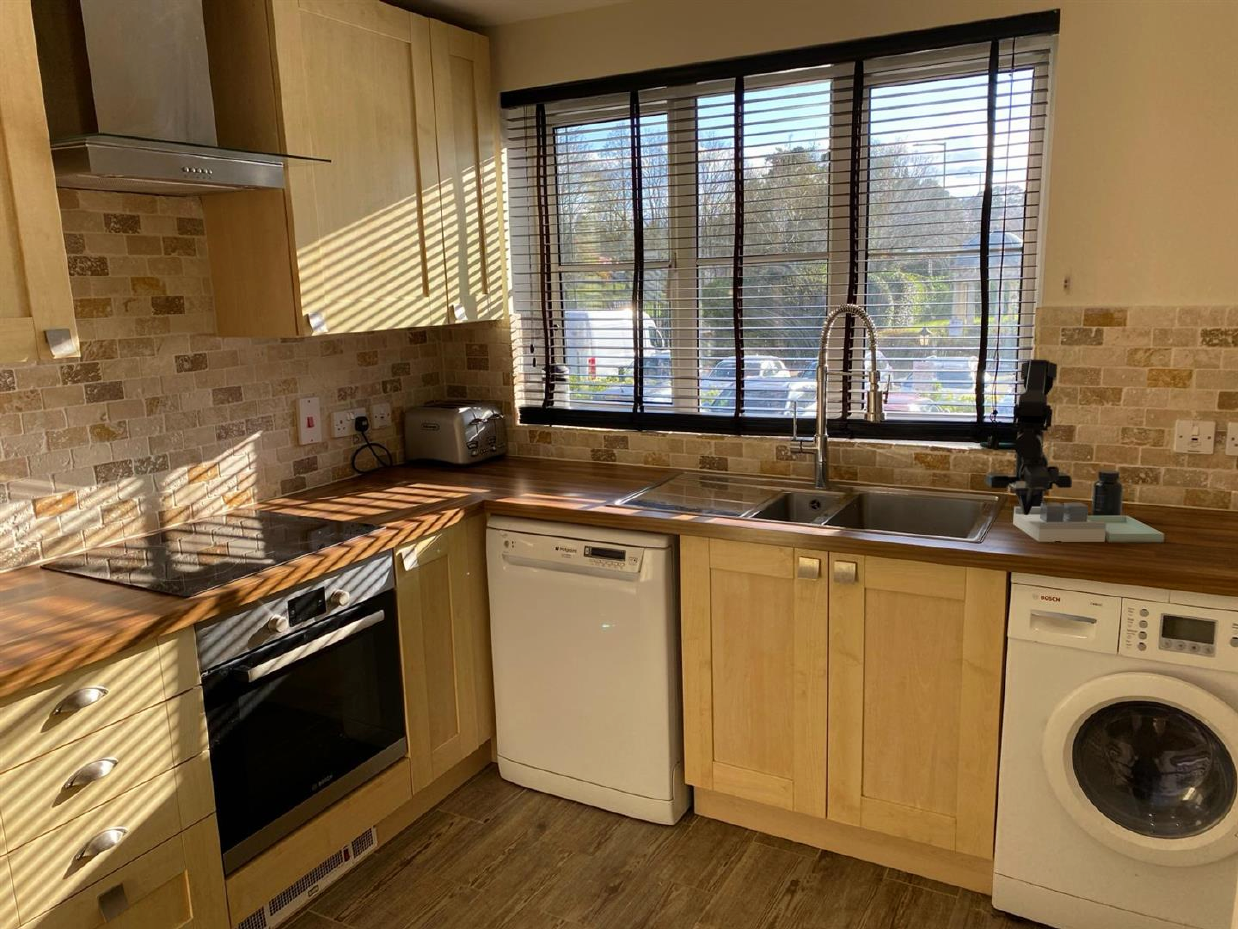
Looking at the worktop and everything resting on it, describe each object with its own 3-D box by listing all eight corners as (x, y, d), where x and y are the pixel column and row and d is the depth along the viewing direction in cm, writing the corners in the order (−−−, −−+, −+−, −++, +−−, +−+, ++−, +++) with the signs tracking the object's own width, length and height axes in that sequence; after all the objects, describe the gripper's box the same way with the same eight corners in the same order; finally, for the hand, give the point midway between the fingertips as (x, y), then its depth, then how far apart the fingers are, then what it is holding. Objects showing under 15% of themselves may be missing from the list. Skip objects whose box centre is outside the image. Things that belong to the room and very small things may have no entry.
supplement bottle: (1104, 512, 241) (1108, 468, 239) (1127, 518, 235) (1130, 472, 233) (1085, 515, 239) (1088, 470, 237) (1107, 521, 232) (1110, 474, 230)
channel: (1013, 524, 231) (1014, 506, 231) (1074, 523, 230) (1075, 506, 229) (1038, 541, 215) (1039, 523, 214) (1104, 541, 214) (1106, 523, 213)
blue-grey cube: (1039, 518, 224) (1040, 502, 223) (1056, 518, 224) (1057, 502, 223) (1046, 522, 220) (1047, 506, 219) (1063, 522, 220) (1064, 506, 219)
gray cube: (1063, 518, 224) (1064, 502, 223) (1079, 518, 223) (1081, 502, 223) (1069, 522, 220) (1070, 506, 219) (1086, 522, 219) (1088, 506, 219)
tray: (1077, 523, 231) (1078, 515, 230) (1126, 523, 230) (1127, 515, 229) (1110, 542, 213) (1110, 533, 213) (1163, 542, 212) (1164, 533, 212)
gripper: (1000, 457, 212) (997, 523, 215) (1083, 457, 211) (1079, 522, 214) (985, 449, 223) (982, 511, 226) (1064, 449, 222) (1060, 511, 225)
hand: (1025, 514), depth 222 cm, fingers closed
